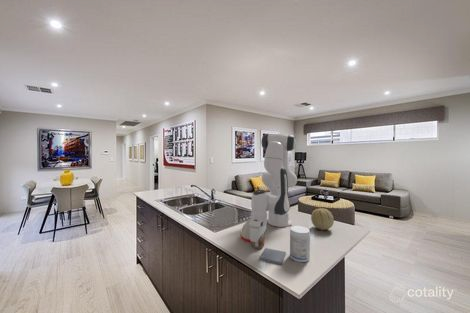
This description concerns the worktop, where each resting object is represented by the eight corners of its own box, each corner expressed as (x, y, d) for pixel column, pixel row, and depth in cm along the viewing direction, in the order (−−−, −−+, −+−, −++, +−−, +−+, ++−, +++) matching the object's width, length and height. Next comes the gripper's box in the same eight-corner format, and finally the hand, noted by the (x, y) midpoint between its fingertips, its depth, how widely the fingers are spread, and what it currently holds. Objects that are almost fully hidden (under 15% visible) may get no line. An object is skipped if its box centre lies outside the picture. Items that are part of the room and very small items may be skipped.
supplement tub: (295, 251, 108) (295, 224, 108) (312, 257, 102) (313, 229, 101) (286, 258, 101) (286, 229, 101) (304, 265, 95) (305, 234, 94)
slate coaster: (265, 250, 109) (265, 247, 109) (285, 254, 105) (285, 251, 105) (259, 259, 99) (259, 257, 99) (281, 264, 95) (281, 262, 95)
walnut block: (255, 243, 117) (255, 235, 117) (264, 245, 115) (264, 236, 115) (252, 247, 112) (253, 238, 112) (261, 249, 110) (261, 240, 110)
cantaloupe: (331, 235, 130) (331, 212, 130) (308, 229, 139) (308, 208, 139) (335, 228, 142) (336, 207, 142) (314, 223, 151) (314, 204, 151)
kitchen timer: (264, 234, 130) (265, 211, 130) (261, 243, 117) (262, 218, 117) (243, 232, 134) (244, 209, 134) (238, 240, 120) (239, 216, 120)
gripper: (258, 213, 124) (258, 235, 124) (247, 224, 105) (247, 250, 105) (268, 214, 121) (268, 237, 122) (259, 225, 103) (258, 252, 103)
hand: (258, 243), depth 113 cm, fingers closed on walnut block, 5 cm apart
